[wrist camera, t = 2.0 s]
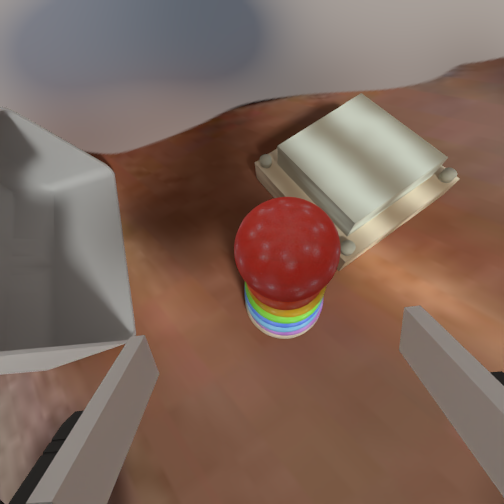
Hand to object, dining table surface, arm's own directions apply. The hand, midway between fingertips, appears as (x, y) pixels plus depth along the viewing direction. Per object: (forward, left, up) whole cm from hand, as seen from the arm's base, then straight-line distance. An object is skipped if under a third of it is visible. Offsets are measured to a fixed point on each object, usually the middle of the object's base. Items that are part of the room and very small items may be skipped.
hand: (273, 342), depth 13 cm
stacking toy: (-3, -3, -14) cm, 15 cm away
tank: (+16, -23, -14) cm, 32 cm away
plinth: (-18, -10, -14) cm, 25 cm away
